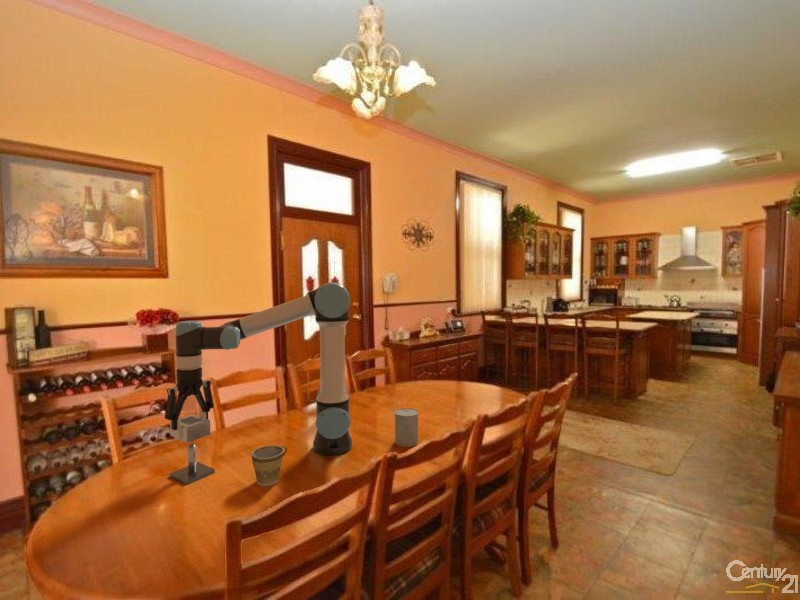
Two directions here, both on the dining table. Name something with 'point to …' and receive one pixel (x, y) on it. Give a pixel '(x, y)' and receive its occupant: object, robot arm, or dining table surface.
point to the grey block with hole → (193, 428)
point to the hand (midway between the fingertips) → (190, 434)
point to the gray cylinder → (406, 427)
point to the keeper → (191, 468)
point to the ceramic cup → (268, 464)
